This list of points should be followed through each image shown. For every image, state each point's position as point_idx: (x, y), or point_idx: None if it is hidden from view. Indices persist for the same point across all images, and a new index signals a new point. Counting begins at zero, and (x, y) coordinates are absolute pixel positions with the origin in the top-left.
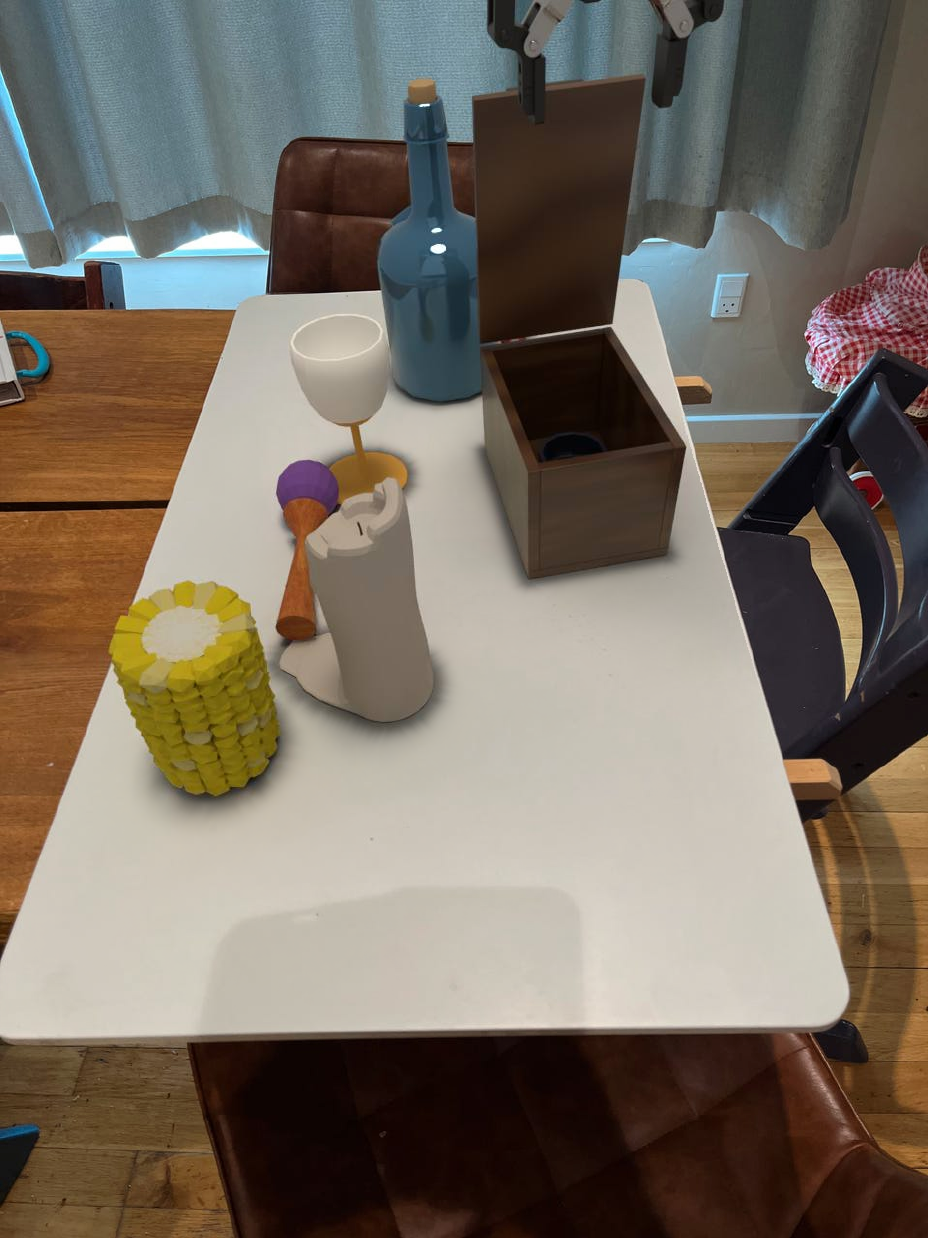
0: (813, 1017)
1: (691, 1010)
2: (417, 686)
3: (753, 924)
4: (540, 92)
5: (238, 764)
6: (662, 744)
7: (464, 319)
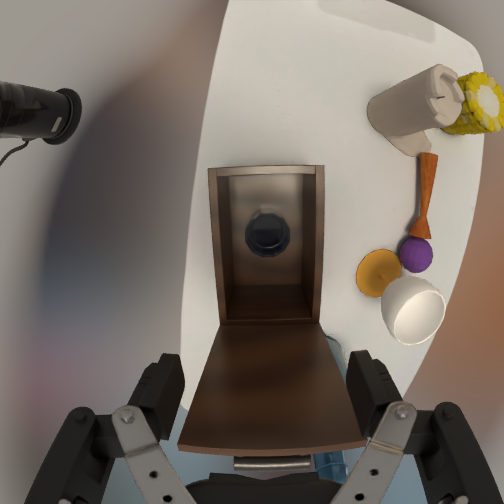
0: None
1: None
2: (380, 93)
3: None
4: (370, 372)
5: None
6: (265, 52)
7: None
